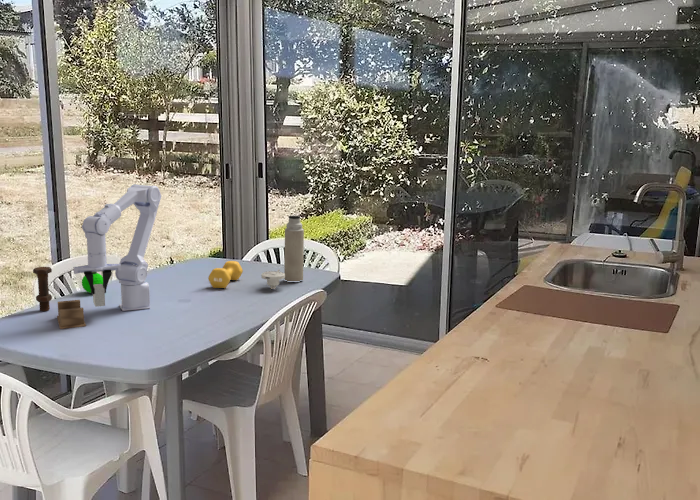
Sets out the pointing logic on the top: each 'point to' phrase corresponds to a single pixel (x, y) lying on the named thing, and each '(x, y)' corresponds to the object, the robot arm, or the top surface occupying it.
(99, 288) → the grey concrete block
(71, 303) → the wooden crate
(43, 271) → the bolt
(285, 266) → the thermos bottle
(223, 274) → the dumbbell
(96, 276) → the ornament
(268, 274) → the showerhead
